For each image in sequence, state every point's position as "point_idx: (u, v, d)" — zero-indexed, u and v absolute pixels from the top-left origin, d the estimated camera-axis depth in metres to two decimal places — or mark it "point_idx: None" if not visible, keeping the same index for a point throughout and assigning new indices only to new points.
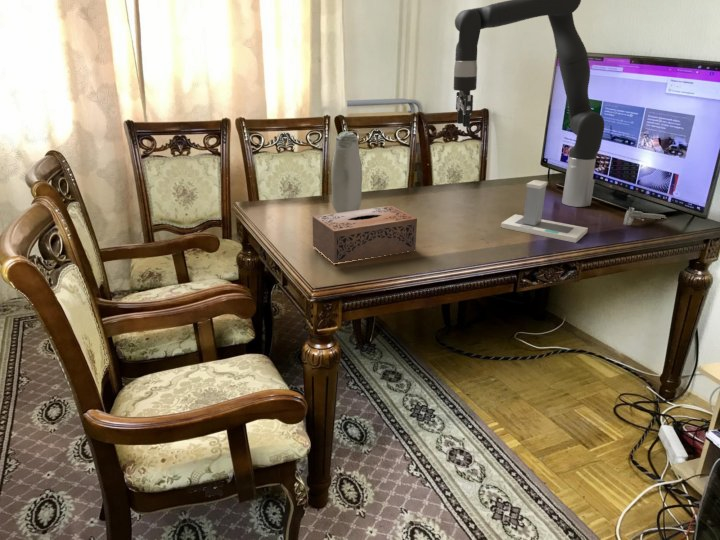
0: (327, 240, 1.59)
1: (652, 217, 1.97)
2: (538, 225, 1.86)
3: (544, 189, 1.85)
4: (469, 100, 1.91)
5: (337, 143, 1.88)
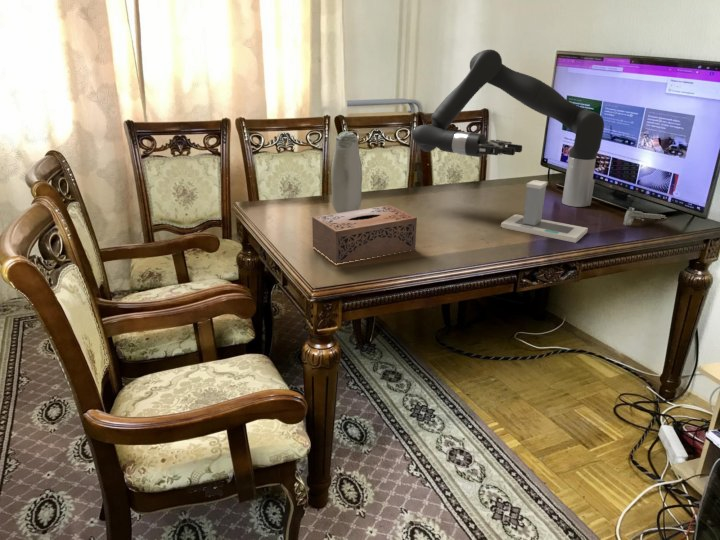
0: (328, 240, 1.58)
1: (652, 217, 1.97)
2: (538, 225, 1.86)
3: (544, 189, 1.85)
4: (484, 149, 1.84)
5: (337, 143, 1.88)
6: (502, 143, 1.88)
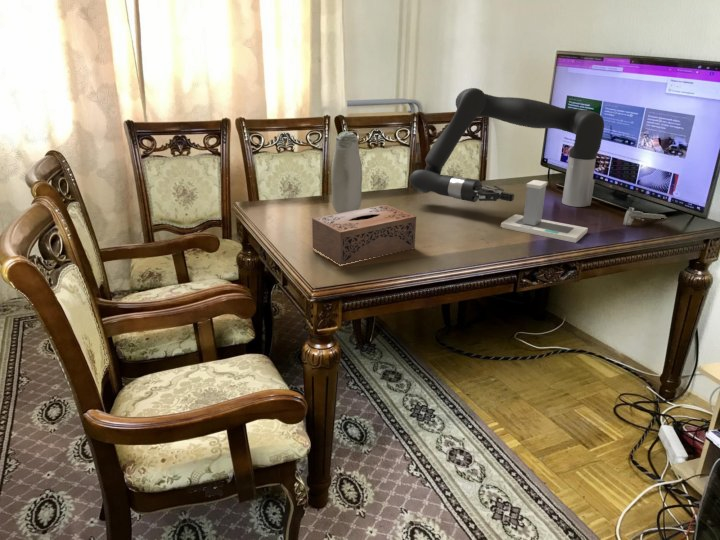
0: (331, 242, 1.57)
1: (652, 217, 1.97)
2: (538, 225, 1.86)
3: (544, 189, 1.85)
4: (484, 196, 1.90)
5: (337, 143, 1.88)
6: None
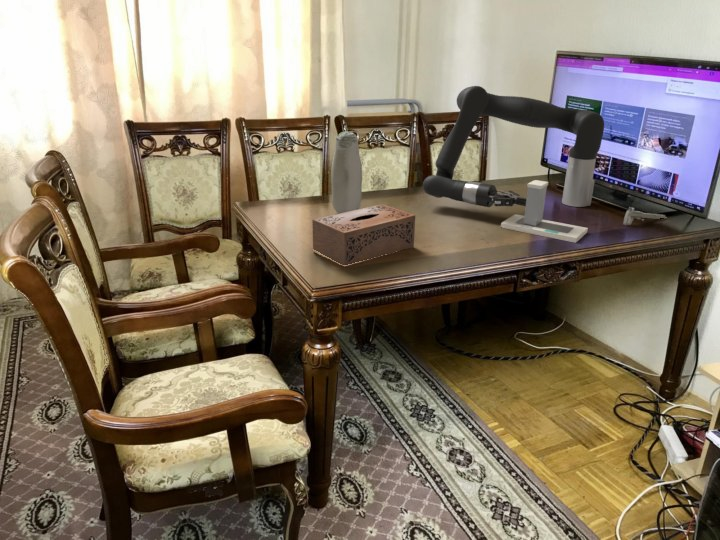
0: (334, 242, 1.57)
1: (652, 217, 1.97)
2: (538, 225, 1.86)
3: (545, 189, 1.85)
4: (500, 202, 1.87)
5: (337, 143, 1.88)
6: None
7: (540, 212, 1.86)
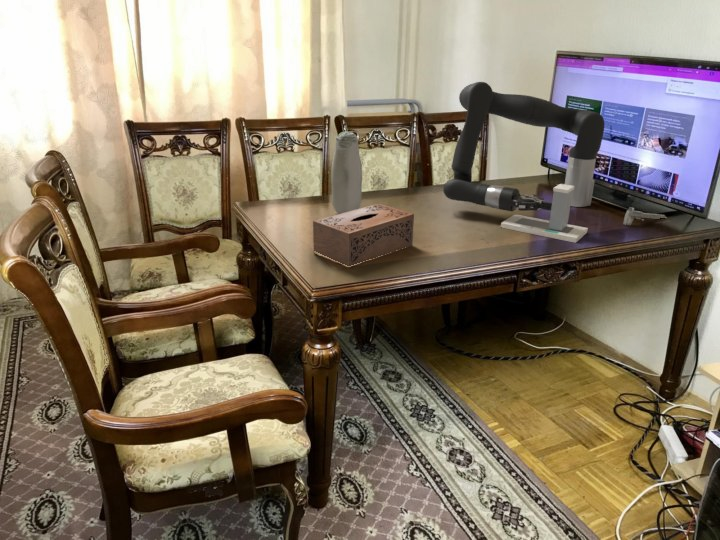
0: (337, 243, 1.56)
1: (652, 217, 1.97)
2: (538, 225, 1.86)
3: (571, 193, 1.80)
4: (524, 206, 1.83)
5: (337, 143, 1.88)
6: None
7: (566, 217, 1.82)
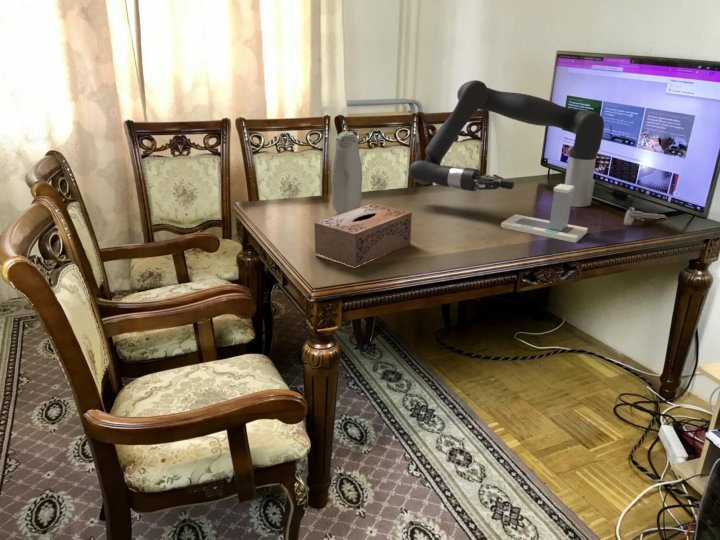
0: (342, 244, 1.56)
1: (652, 217, 1.97)
2: (538, 225, 1.86)
3: (571, 193, 1.80)
4: (484, 185, 1.89)
5: (337, 143, 1.88)
6: None
7: (566, 217, 1.82)
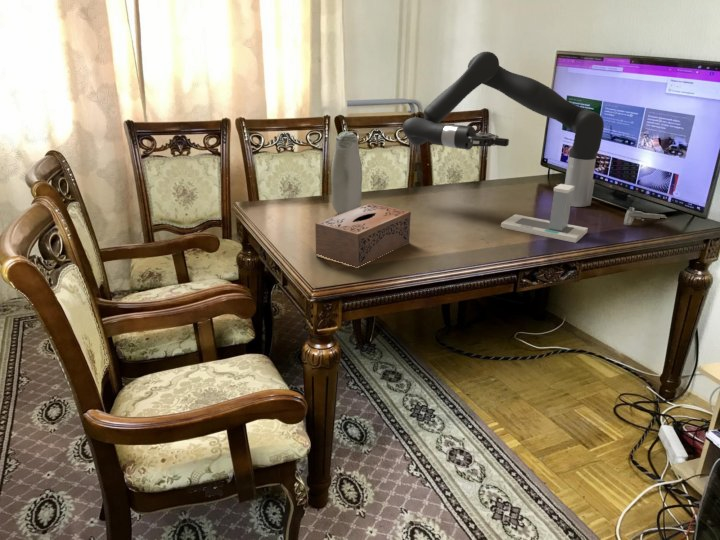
0: (344, 245, 1.55)
1: (652, 217, 1.97)
2: (538, 225, 1.86)
3: (571, 193, 1.80)
4: (478, 142, 1.85)
5: (337, 143, 1.88)
6: None
7: (566, 217, 1.82)
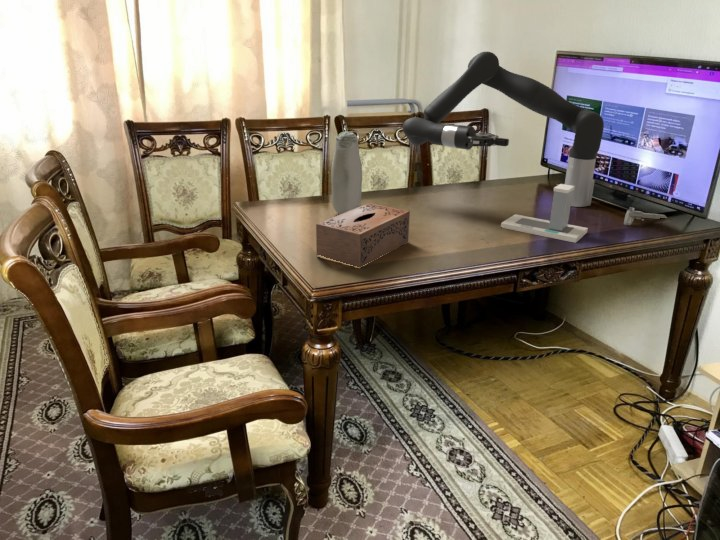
0: (346, 245, 1.55)
1: (652, 217, 1.97)
2: (538, 225, 1.86)
3: (571, 193, 1.80)
4: (478, 142, 1.85)
5: (337, 143, 1.88)
6: None
7: (566, 217, 1.82)
